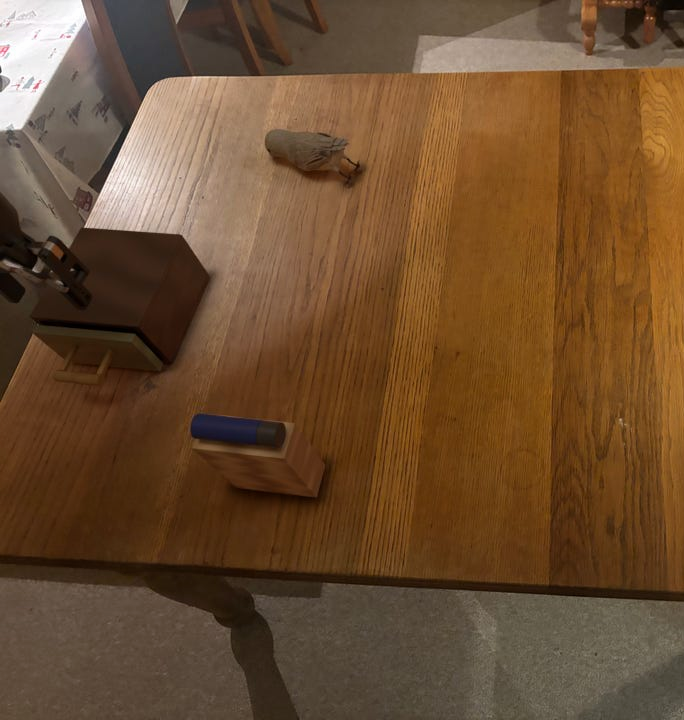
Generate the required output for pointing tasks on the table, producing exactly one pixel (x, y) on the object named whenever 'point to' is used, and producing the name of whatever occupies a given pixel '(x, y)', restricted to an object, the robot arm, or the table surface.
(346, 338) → the table surface
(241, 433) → the blue cylinder
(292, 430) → the wooden block
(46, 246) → the robot arm
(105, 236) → the cabinet
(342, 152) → the decorative bird
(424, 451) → the table surface
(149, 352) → the drawer
